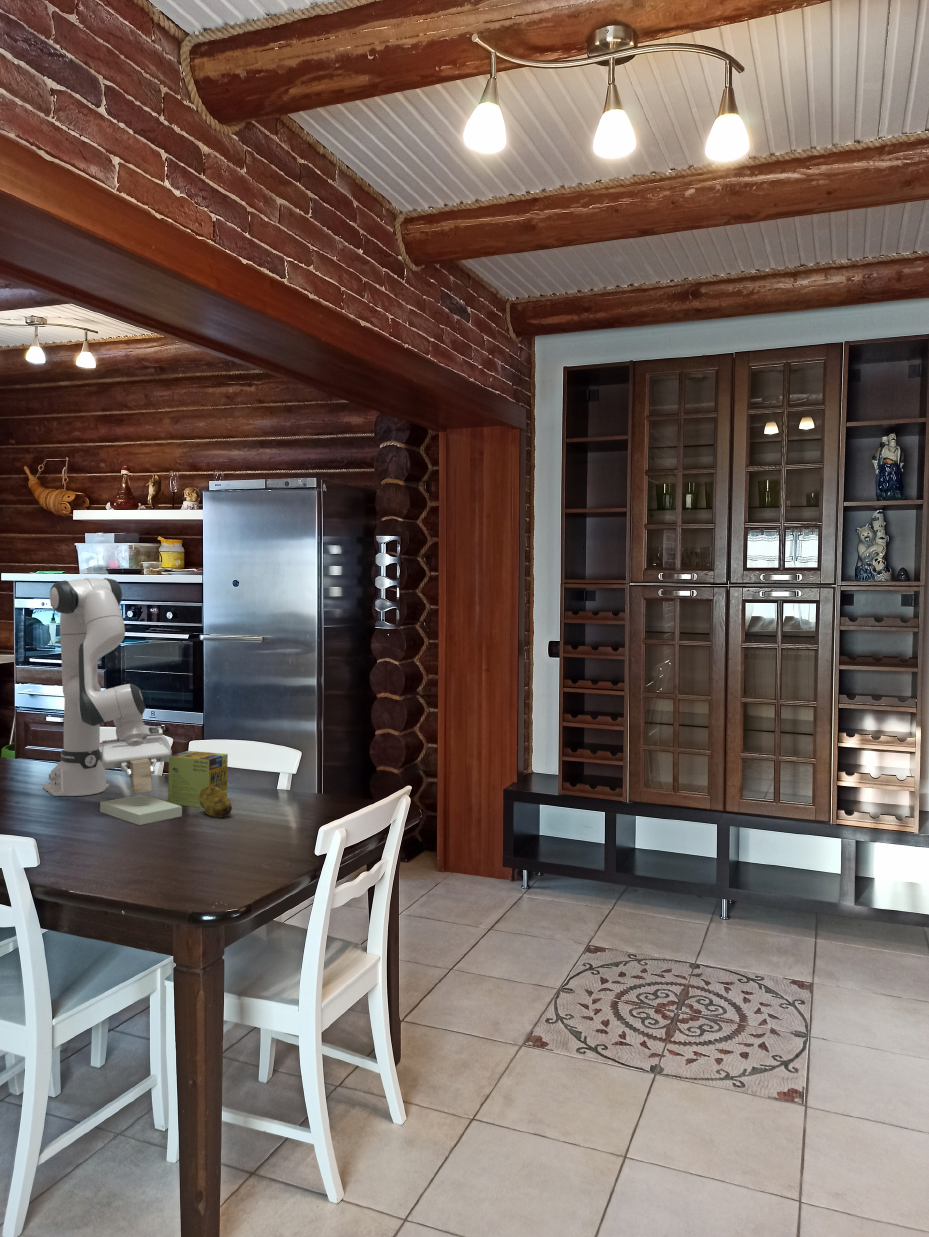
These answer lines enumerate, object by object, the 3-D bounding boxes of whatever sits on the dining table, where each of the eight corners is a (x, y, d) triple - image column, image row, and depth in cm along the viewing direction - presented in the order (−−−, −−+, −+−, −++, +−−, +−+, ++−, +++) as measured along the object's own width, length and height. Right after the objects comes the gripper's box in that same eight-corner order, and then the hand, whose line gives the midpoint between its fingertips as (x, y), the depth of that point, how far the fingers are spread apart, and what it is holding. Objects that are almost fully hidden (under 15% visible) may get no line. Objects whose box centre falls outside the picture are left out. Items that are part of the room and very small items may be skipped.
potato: (205, 821, 268) (205, 794, 268) (197, 810, 280) (197, 785, 279) (233, 818, 272) (233, 791, 272) (224, 808, 283) (224, 782, 283)
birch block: (130, 790, 275) (129, 760, 274) (147, 787, 277) (146, 758, 277) (134, 793, 271) (133, 763, 270) (151, 790, 273) (150, 761, 273)
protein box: (209, 808, 282) (209, 759, 282) (167, 804, 287) (167, 755, 287) (228, 801, 292) (228, 753, 292) (187, 797, 297) (188, 749, 297)
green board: (100, 811, 276) (100, 802, 276) (142, 803, 287) (142, 794, 287) (139, 825, 262) (139, 814, 262) (181, 816, 273) (181, 806, 273)
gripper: (98, 735, 273) (105, 773, 266) (167, 727, 284) (176, 764, 277) (95, 747, 277) (103, 785, 270) (164, 739, 288) (173, 776, 281)
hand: (141, 774), depth 273 cm, fingers closed on birch block, 5 cm apart
